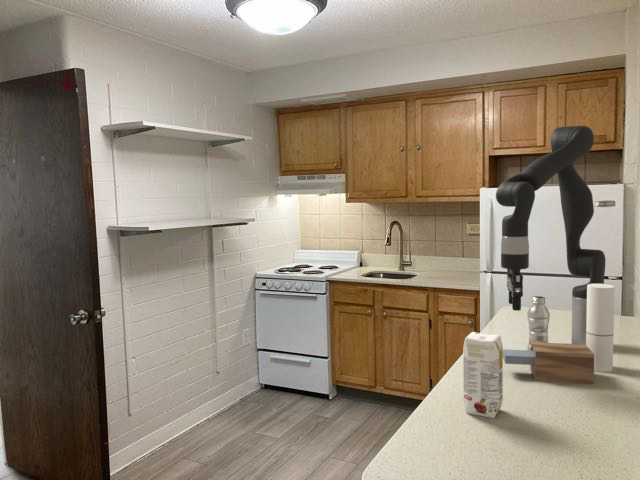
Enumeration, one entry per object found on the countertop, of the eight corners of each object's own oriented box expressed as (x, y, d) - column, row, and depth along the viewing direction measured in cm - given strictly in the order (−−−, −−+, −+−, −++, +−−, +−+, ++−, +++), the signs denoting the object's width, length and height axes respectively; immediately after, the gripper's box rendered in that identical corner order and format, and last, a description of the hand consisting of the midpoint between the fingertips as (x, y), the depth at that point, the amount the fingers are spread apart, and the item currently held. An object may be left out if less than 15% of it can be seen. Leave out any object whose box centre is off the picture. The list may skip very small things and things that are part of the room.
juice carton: (497, 420, 122) (497, 342, 121) (461, 413, 127) (460, 337, 125) (504, 409, 129) (504, 334, 127) (469, 402, 133) (469, 330, 131)
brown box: (530, 369, 156) (530, 342, 155) (584, 372, 152) (585, 344, 151) (535, 380, 147) (535, 351, 146) (593, 383, 143) (594, 354, 142)
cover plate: (502, 357, 156) (502, 349, 155) (575, 360, 151) (575, 352, 151) (505, 363, 150) (505, 355, 150) (580, 367, 145) (580, 358, 145)
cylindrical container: (611, 365, 157) (613, 284, 155) (613, 373, 151) (615, 288, 148) (585, 362, 160) (586, 283, 158) (586, 370, 154) (587, 287, 151)
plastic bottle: (552, 362, 161) (552, 299, 159) (529, 362, 162) (529, 299, 160) (547, 356, 167) (548, 295, 165) (525, 355, 169) (525, 295, 167)
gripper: (532, 254, 141) (532, 313, 143) (524, 248, 155) (524, 302, 157) (503, 254, 143) (503, 312, 145) (498, 248, 157) (498, 301, 158)
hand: (514, 306), depth 151 cm, fingers open, 8 cm apart
